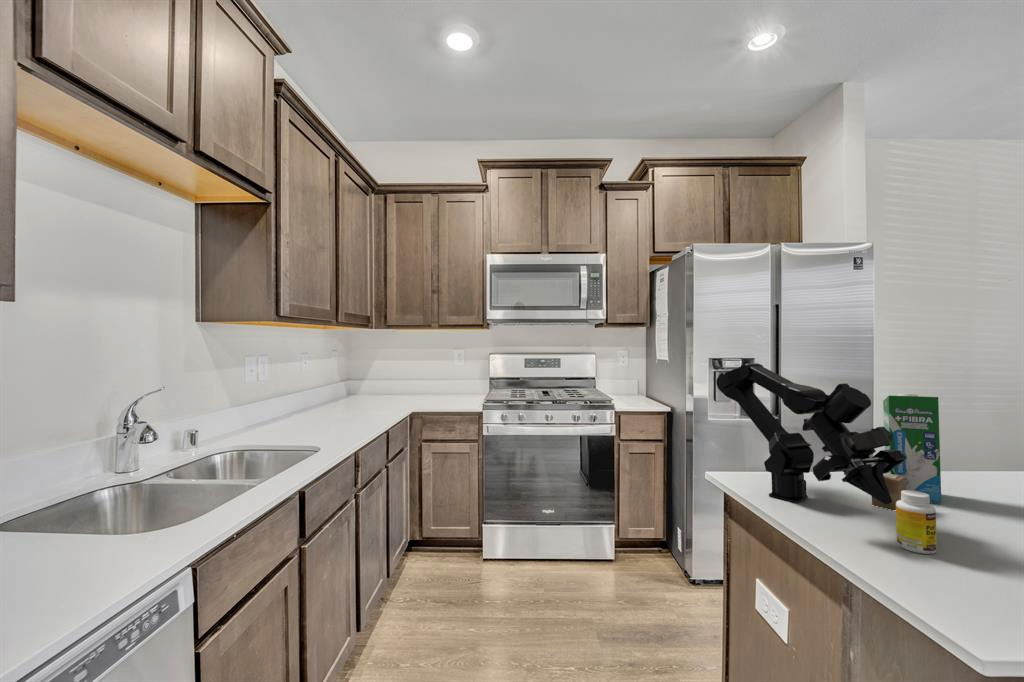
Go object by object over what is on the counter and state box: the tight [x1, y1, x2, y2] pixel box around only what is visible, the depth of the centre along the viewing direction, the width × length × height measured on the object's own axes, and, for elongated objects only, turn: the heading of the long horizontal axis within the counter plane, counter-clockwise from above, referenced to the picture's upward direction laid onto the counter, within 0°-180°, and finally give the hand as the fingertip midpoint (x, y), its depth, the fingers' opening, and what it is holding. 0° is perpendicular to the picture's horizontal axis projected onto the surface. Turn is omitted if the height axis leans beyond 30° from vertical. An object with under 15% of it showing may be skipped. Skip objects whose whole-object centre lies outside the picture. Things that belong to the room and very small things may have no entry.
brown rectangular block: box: [871, 473, 906, 511], centre depth 105 cm, size 5×5×7 cm
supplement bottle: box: [895, 490, 937, 555], centre depth 84 cm, size 6×6×10 cm
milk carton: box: [882, 393, 942, 504], centre depth 112 cm, size 9×9×25 cm
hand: (889, 503), depth 89 cm, fingers closed
